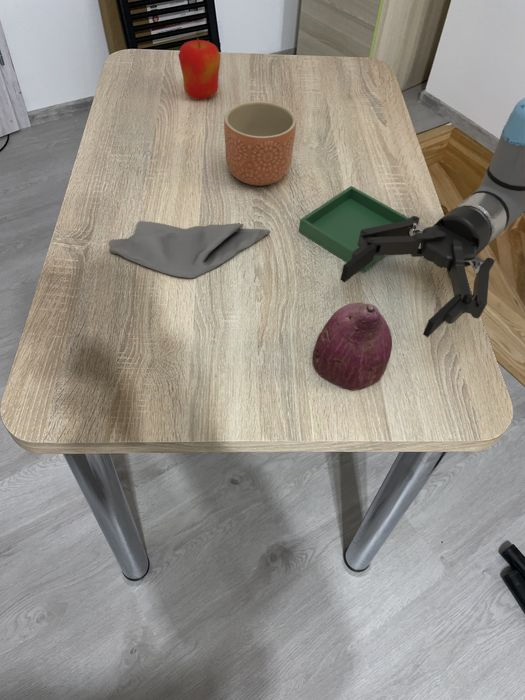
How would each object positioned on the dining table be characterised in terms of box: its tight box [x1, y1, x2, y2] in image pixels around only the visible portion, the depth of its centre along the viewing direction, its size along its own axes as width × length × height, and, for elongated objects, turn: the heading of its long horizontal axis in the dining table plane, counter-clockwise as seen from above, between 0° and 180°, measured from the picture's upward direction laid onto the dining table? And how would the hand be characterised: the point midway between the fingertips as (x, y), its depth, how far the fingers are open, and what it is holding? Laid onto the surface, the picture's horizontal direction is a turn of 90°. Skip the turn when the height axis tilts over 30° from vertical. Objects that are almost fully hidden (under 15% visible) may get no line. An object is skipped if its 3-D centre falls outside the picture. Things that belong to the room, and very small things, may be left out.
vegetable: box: [312, 302, 393, 391], centre depth 69 cm, size 10×10×15 cm
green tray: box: [298, 185, 410, 273], centre depth 90 cm, size 14×14×3 cm
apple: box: [178, 37, 221, 100], centre depth 113 cm, size 9×8×12 cm
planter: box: [223, 100, 297, 187], centre depth 96 cm, size 12×12×11 cm
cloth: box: [108, 220, 271, 279], centre depth 86 cm, size 26×14×2 cm, turn 90°
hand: (384, 300), depth 70 cm, fingers open, 13 cm apart
